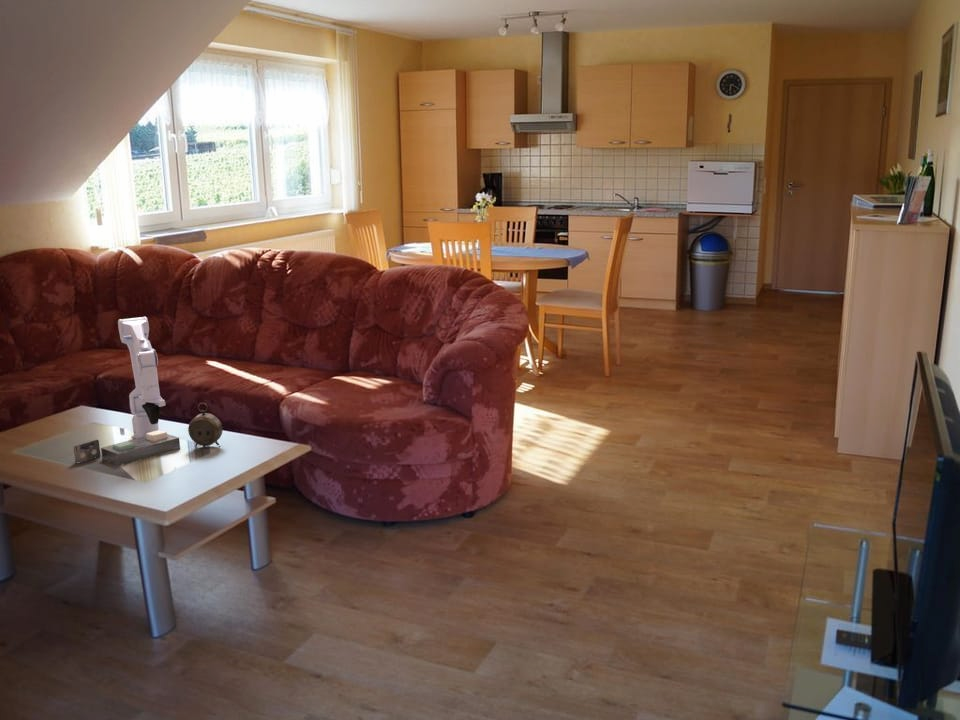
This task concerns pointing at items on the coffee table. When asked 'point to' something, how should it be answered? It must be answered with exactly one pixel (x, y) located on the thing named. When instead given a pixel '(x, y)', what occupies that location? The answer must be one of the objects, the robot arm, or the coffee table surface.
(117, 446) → the teal key
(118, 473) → the coffee table surface
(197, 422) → the alarm clock
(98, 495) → the coffee table surface
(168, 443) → the key housing
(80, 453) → the mini dv tape
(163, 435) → the white key
